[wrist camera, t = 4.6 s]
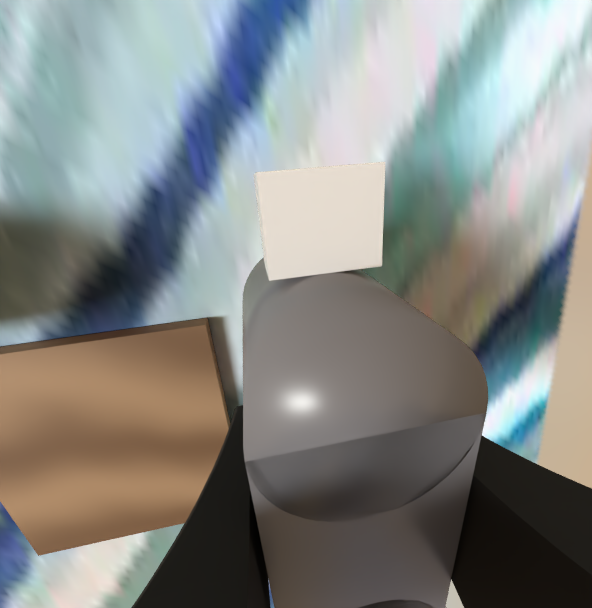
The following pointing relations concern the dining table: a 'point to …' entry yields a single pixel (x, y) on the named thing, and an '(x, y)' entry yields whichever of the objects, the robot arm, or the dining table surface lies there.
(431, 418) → the grey rounded piece
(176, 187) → the dining table surface
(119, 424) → the walnut board
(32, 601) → the dining table surface
